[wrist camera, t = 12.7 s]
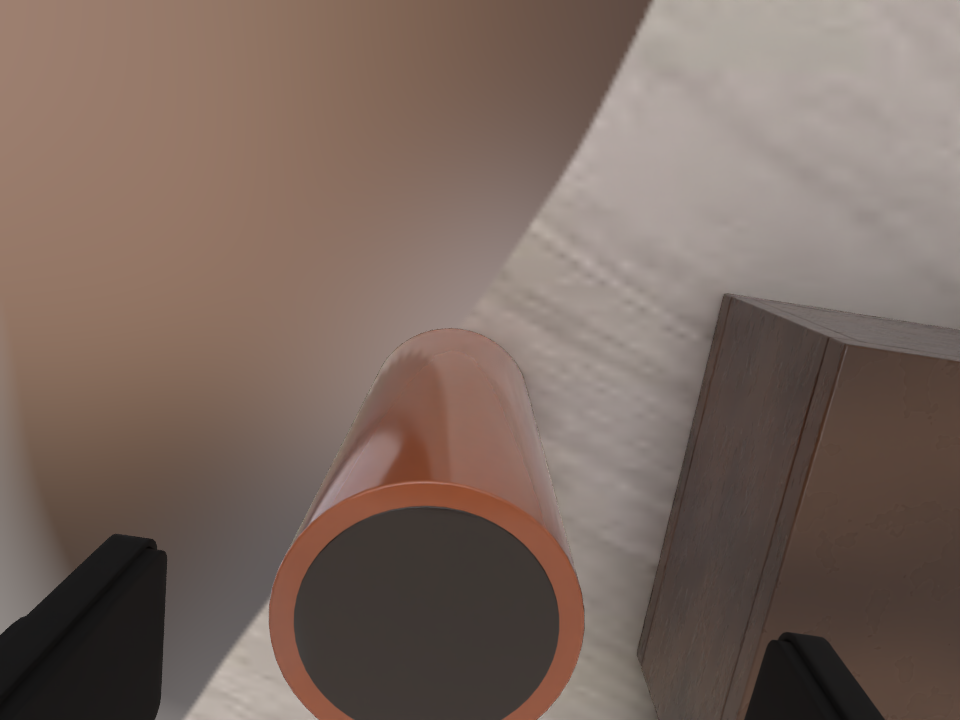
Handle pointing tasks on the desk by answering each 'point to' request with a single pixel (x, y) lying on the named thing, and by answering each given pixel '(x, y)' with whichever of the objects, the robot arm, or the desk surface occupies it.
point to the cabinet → (814, 513)
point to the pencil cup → (432, 552)
